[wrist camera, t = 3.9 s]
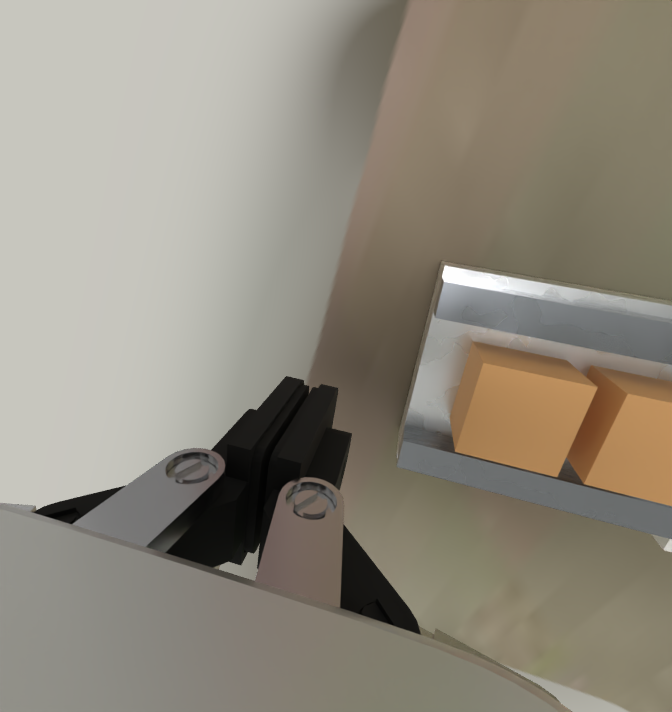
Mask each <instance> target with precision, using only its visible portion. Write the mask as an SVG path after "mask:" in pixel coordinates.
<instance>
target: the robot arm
mask: <svg viewBox="0 0 672 712" xmlns="http://www.w3.org/2000/svg"><path fill="white" fill-rule="evenodd" d="M308 394H309V395H308ZM337 395H338V388H336V387H331V386H327V385H323V384H321V385H320V386H319V388H315V387H313V388H312V390H311V391H310V393H309V386H307V385H304V380H300V379H296V378H292V377H287V376H286V377H285V378H284V379H283V380H282V382H281V383H280V384H279V385H278V386H277V387H276V389H275V390H274V391H273V392H272V393H271V394H270V395H269V397H268V398H267V399H266V400H265V401H264V402H263V404H262V405H261V406H260V407H259V408H258V409H257V410H254V409H249V410H248V411H247V412H246V413H245V414H244V415H243V416H242V417H241V418H240V419H239V420H238V421H237V422H236V424H235V425H234V426H233V427H232V428H231V429H230V430H229V431H228V432H227V433H226V434H225V436H224V437H223V438H222V439H221V440H220V441H219V442H218V443H217V444H216V445H215V446H214V448H213V449H212V450H208V449H203V448H202V449H201V448H191V449H184V450H181V451H178V452H175V453H173V454H171V455H169V456H168V457H166V458H165V459H163V460H162V461H160V462H159V463H158V464H156V465H155V466H153V467H152V468H151V469H149V470H148V471H146V472H145V473H144V474H142V475H141V476H139V477H138V478H136V479H135V480H134V481H133V482H131V483H129V484H128V485H127V486H122V487H119V488H114V489H110V490H106V491H102V492H98V493H93V494H89V495H86V496H81V497H77V498H73V499H69V500H65V501H60V502H57V503H54V504H50V505H47V506H44V507H42V508H40V509H38V510H36V506H32V505H19V504H7V503H0V712H572V711H571V710H569V709H568V708H566V707H565V706H563V705H562V704H561V703H560V702H559V701H558V700H557V698H556V697H554V696H553V695H552V694H551V693H549V692H548V691H546V690H545V689H544V688H542V687H541V686H540V685H538V684H536V683H534V682H532V681H531V680H529V679H527V678H525V677H523V676H521V675H520V674H518V673H516V672H514V671H512V670H511V669H509V668H507V667H505V666H503V665H501V664H500V663H498V662H496V661H494V660H492V659H491V658H489V657H487V656H485V655H483V654H481V653H480V652H478V651H476V650H474V649H472V648H470V647H469V646H467V645H465V644H463V643H461V642H460V641H458V640H456V639H454V638H452V637H450V636H449V635H447V634H445V633H443V632H441V631H440V630H438V629H435V632H434V634H432V633H430V632H428V631H426V630H425V629H423V628H421V627H419V626H418V623H417V620H416V619H415V617H414V615H413V614H412V612H411V610H410V609H409V607H408V606H407V605H406V604H405V602H404V601H403V600H402V598H401V597H400V596H399V595H398V593H397V592H396V591H395V589H394V588H393V587H392V586H391V584H390V583H389V582H388V581H387V579H386V578H385V577H384V575H383V574H382V573H381V572H380V570H379V569H378V568H377V566H376V565H375V564H374V563H373V561H372V560H371V559H370V557H369V556H368V555H367V554H366V552H365V551H364V550H363V549H362V547H361V546H360V545H359V543H358V542H357V541H356V540H355V538H354V537H353V536H352V534H351V533H350V532H349V531H348V529H347V528H346V527H345V525H344V524H343V520H344V501H343V497H342V495H341V493H340V492H339V490H340V486H341V483H342V479H343V475H344V471H345V467H346V462H347V457H348V452H349V447H350V442H351V436H352V433H348V432H344V431H340V430H336V429H332V424H333V418H334V412H335V407H336V401H337ZM259 544H260V546H259ZM258 546H259V557H258V565H257V568H258V572H257V575H256V579H255V581H253V580H249V579H247V578H243V577H240V576H237V575H234V574H231V573H228V572H224V571H221V570H219V567H220V565H221V564H224V563H226V562H232V563H235V564H238V565H241V564H242V563H243V561H244V559H245V557H246V555H247V553H248V552H250V553H255V551H256V550H257V547H258Z"/></svg>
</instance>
